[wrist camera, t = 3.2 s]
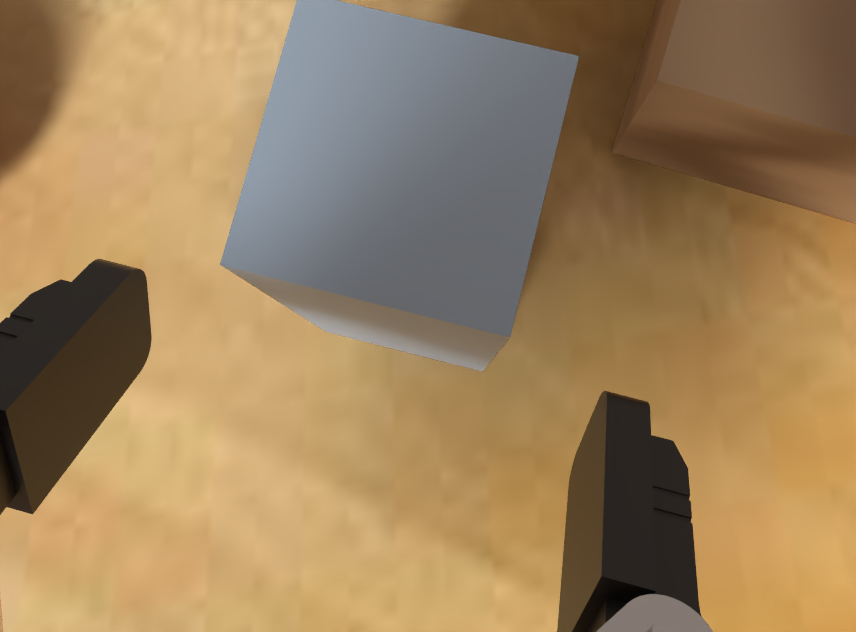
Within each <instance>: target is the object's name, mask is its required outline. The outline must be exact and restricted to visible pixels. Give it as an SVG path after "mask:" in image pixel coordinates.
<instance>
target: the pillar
mask: <svg viewBox="0 0 856 632" xmlns="http://www.w3.org/2000/svg"><path fill="white" fill-rule="evenodd" d="M578 59H579V56H577V55H573V54H569V53H564V52H560V51H556V50H551V49H547V48H543V47H538V46H534V45H529V44H525V43H521V42H516V41H512V40H508V39H503V38H499V37H494V36H490V35H486V34H481V33H477V32H473V31H468V30H464V29H459V28H455V27H451V26H446V25H442V24H438V23H433V22H429V21H425V20H420V19H416V18H411V17H407V16H403V15H398V14H394V13H390V12H385V11H381V10H376V9H372V8H368V7H363V6H359V5H355V4H350V3H346V2H341V1H337V0H297V2H296V6H295V9H294V13H293V16H292V20H291V23H290V26H289V30H288V33H287V37H286V40H285V44H284V47H283V50H282V54H281V57H280V61H279V64H278V68H277V71H276V74H275V78H274V81H273V85H272V88H271V92H270V95H269V98H268V102H267V105H266V109H265V112H264V116H263V119H262V123H261V126H260V129H259V133H258V136H257V140H256V143H255V147H254V150H253V153H252V157H251V160H250V164H249V167H248V171H247V174H246V177H245V181H244V184H243V188H242V191H241V195H240V198H239V201H238V205H237V208H236V212H235V215H234V219H233V222H232V225H231V229H230V232H229V236H228V239H227V243H226V246H225V250H224V253H223V256H222V260H221V263H220V265H222V266H223V267H225V268H226V269H228V270H229V271H231V272H233V273H234V274H236V275H237V276H239V277H240V278H242V279H244V280H245V281H247V282H248V283H250V284H251V285H253V286H255V287H256V288H258V289H259V290H261V291H262V292H264V293H266V294H267V295H269V296H270V297H272V298H273V299H275V300H277V301H278V302H280V303H281V304H283V305H284V306H286V307H288V308H289V309H291V310H292V311H294V312H295V313H297V314H299V315H300V316H302V317H303V318H305V319H306V320H308V321H310V322H311V323H313V324H314V325H316V326H317V327H319V328H321V329H322V330H324V331H325V332H329V333H333V334H337V335H341V336H344V337H348V338H352V339H356V340H360V341H364V342H368V343H372V344H376V345H380V346H384V347H388V348H392V349H395V350H399V351H403V352H407V353H411V354H415V355H419V356H423V357H427V358H431V359H435V360H439V361H443V362H447V363H450V364H454V365H458V366H462V367H466V368H470V369H474V370H478V371H483V370H484V369H485V368H486V367H487V365H488V364H489V363H490V362H491V360H492V359H493V358H494V357H495V356H496V354H497V353H498V352H499V351H500V349H501V348H502V347H503V346H504V344H505V343H506V342H507V341H508V340H509V338H510V336H511V332H512V328H513V324H514V320H515V316H516V312H517V308H518V303H519V299H520V295H521V291H522V287H523V283H524V279H525V275H526V271H527V267H528V263H529V259H530V255H531V250H532V246H533V242H534V238H535V234H536V230H537V226H538V222H539V218H540V214H541V210H542V206H543V202H544V197H545V193H546V189H547V185H548V181H549V177H550V173H551V169H552V165H553V161H554V157H555V153H556V149H557V144H558V140H559V136H560V132H561V128H562V124H563V120H564V116H565V112H566V108H567V104H568V100H569V96H570V91H571V87H572V83H573V79H574V75H575V71H576V67H577V63H578Z"/></svg>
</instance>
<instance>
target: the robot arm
mask: <svg viewBox="0 0 856 632" xmlns="http://www.w3.org/2000/svg"><path fill="white" fill-rule="evenodd" d="M150 347H151V325H150V314H149V302H148V291H147V280H146V276H145V273H144V272H143V271H142V270H141V269H137V268H133V267H129V266H126V265H122V264H118V263H114V262H110V261H106V260H102V259H97V260H95V261H93V262H92V263H90V264H89V265H88V266H87V267H86V268H85V269H84V270H83V271H82V272H81V273H80V274H79V275H78V276H77V277H76V278H75V279H74V280H73V281H72V282H68V281H65V280H59V281H57V282H55V283H53V284H50V285H48V286H46V287H44V288H42V289H40V290H38V291H36V292H34V293H32V294H31V295H29V296H28V297H27V298H26V299H25V300H24V301H23V302H22V303H21V304H20V305H19V306H18V307H17V308H16V309H15V310H14V311H13V312H12V313H11V315H10V317H9V318H7V317H6V318H5V319H4V320H3V321H2V322H1V323H0V514H1V513H2V512H3V510H4V509H5V508H6V507H9V508H12V509H16V510H20V511H23V512H27V513H30V514H33V513H34V512H35V511H36V509H37V508H38V507H39V505H40V504H41V503H42V501H43V500H44V499H45V497H46V496H47V495H48V493H49V492H50V491H51V489H52V488H53V487H54V485H55V484H56V483H57V481H58V480H59V479H60V477H61V476H62V475H63V474H64V472H65V471H66V470H67V468H68V467H69V466H70V464H71V463H72V462H73V460H74V459H75V458H76V456H77V455H78V454H79V452H80V451H81V450H82V448H83V447H84V446H85V444H86V443H87V442H88V440H89V439H90V438H91V436H92V435H93V434H94V432H95V431H96V430H97V428H98V427H99V426H100V425H101V423H102V422H103V421H104V419H105V418H106V417H107V415H108V414H109V413H110V411H111V410H112V409H113V407H114V406H115V405H116V403H117V402H118V401H119V399H120V398H121V397H122V395H123V394H124V393H125V391H126V390H127V389H128V387H129V386H130V385H131V383H132V382H133V381H134V379H135V378H136V377H137V375H138V374H139V373H140V371H141V370H142V368H143V367H144V365H145V362H146V360H147V358H148V355H149V351H150ZM689 497H690V489H689V477H688V468H687V466H686V464H685V462H684V460H683V458H682V456H681V455H680V453H679V451H678V449H677V447H676V445H675V443H674V442H673V441H671V440H668V439H664V438H660V437H656V436H652V435H651V422H650V406H649V403H648V402H646V401H642V400H638V399H634V398H631V397H627V396H623V395H619V394H615V393H611V392H607V391H604V392H603V393H602V394H601V396H600V398H599V400H598V402H597V405H596V407H595V409H594V412H593V414H592V416H591V419H590V421H589V424H588V426H587V428H586V431H585V433H584V435H583V438H582V440H581V443H580V445H579V447H578V450H577V452H576V455H575V459H574V462H573V466H572V470H571V475H570V480H569V489H568V502H567V514H566V527H565V540H564V553H563V566H562V579H561V592H560V604H559V617H558V630H557V632H713V631H712V630H711V628H710V627H709V625H708V624H707V623H706V621H705V620H704V619H703V618H702V617H701V614H700V609H699V601H698V589H697V576H696V564H695V551H694V539H693V527H692V523H691V518H692V514H691V502H690V501H689ZM0 632H3V626H2V612H1V599H0Z"/></svg>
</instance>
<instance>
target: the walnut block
mask: <svg viewBox="0 0 856 632" xmlns="http://www.w3.org/2000/svg"><path fill="white" fill-rule="evenodd" d="M612 153H615V154H619V155H622V156H626V157H629V158H633V159H636V160H639V161H643V162H646V163H650V164H653V165H656V166H660V167H663V168H667V169H670V170H674V171H677V172H680V173H684V174H687V175H691V176H694V177H698V178H701V179H704V180H708V181H711V182H715V183H718V184H722V185H725V186H728V187H732V188H735V189H739V190H742V191H746V192H749V193H752V194H756V195H759V196H763V197H766V198H769V199H773V200H776V201H780V202H783V203H787V204H790V205H793V206H797V207H800V208H804V209H807V210H811V211H814V212H817V213H821V214H824V215H828V216H831V217H835V218H838V219H841V220H845V221H848V222H852V223H856V0H657V3H656V6H655V9H654V13H653V16H652V19H651V23H650V26H649V29H648V33H647V36H646V39H645V43H644V46H643V49H642V53H641V56H640V60H639V63H638V66H637V70H636V73H635V76H634V80H633V83H632V86H631V90H630V93H629V96H628V100H627V103H626V106H625V110H624V113H623V117H622V120H621V123H620V127H619V130H618V133H617V137H616V140H615V143H614V147H613V150H612Z"/></svg>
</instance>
